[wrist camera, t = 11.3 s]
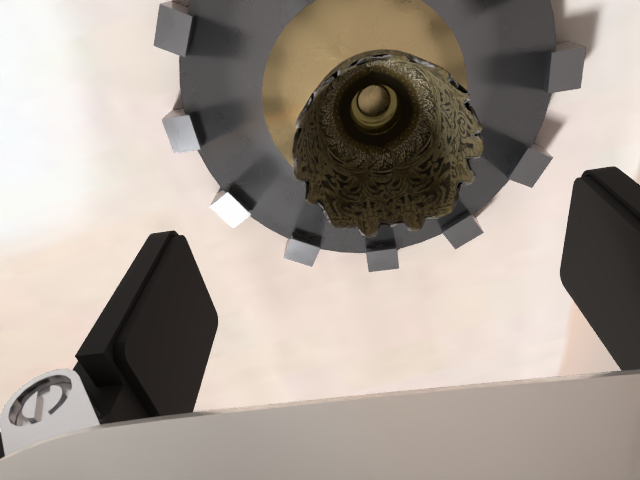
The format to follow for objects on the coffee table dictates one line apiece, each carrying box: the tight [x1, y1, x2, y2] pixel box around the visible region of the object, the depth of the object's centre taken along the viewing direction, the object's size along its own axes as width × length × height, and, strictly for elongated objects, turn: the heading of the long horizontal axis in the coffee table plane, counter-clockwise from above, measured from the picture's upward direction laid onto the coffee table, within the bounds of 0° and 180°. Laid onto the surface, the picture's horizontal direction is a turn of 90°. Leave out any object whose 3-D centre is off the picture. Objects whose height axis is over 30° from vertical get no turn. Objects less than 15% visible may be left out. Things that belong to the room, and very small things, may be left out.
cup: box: [292, 49, 484, 238], centre depth 21 cm, size 8×7×8 cm
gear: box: [154, 0, 586, 272], centre depth 24 cm, size 22×22×2 cm
